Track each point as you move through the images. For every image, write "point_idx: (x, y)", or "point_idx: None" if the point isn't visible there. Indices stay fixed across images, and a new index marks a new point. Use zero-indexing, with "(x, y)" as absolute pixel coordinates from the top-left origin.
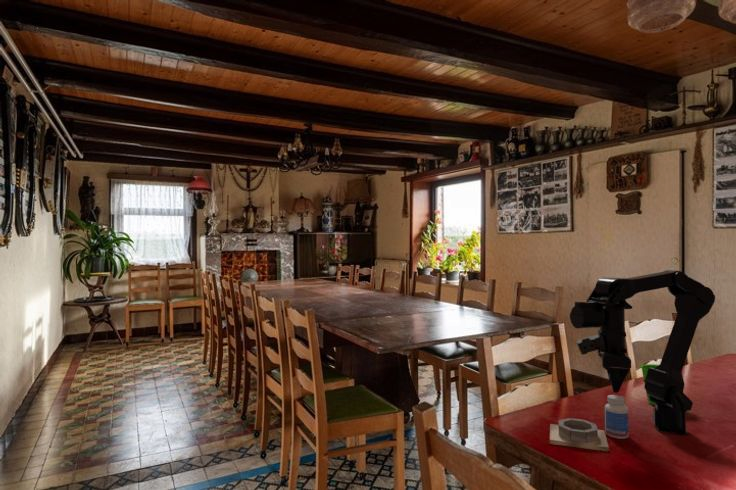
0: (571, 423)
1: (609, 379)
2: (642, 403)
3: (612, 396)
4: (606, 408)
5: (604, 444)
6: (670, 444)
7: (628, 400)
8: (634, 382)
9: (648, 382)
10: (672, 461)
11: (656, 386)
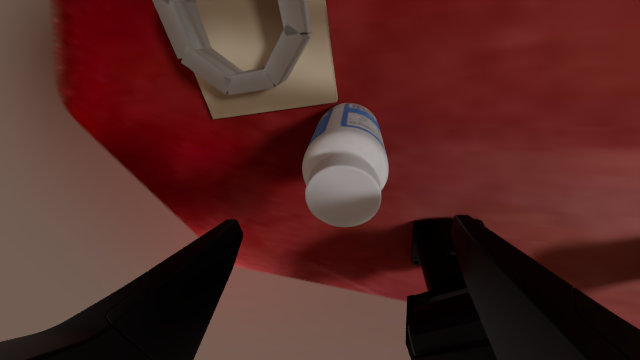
0: None
1: (461, 226)
2: None
3: (343, 185)
4: (320, 138)
5: (223, 108)
6: (342, 228)
7: None
8: None
9: (491, 346)
10: (256, 220)
11: (453, 346)
